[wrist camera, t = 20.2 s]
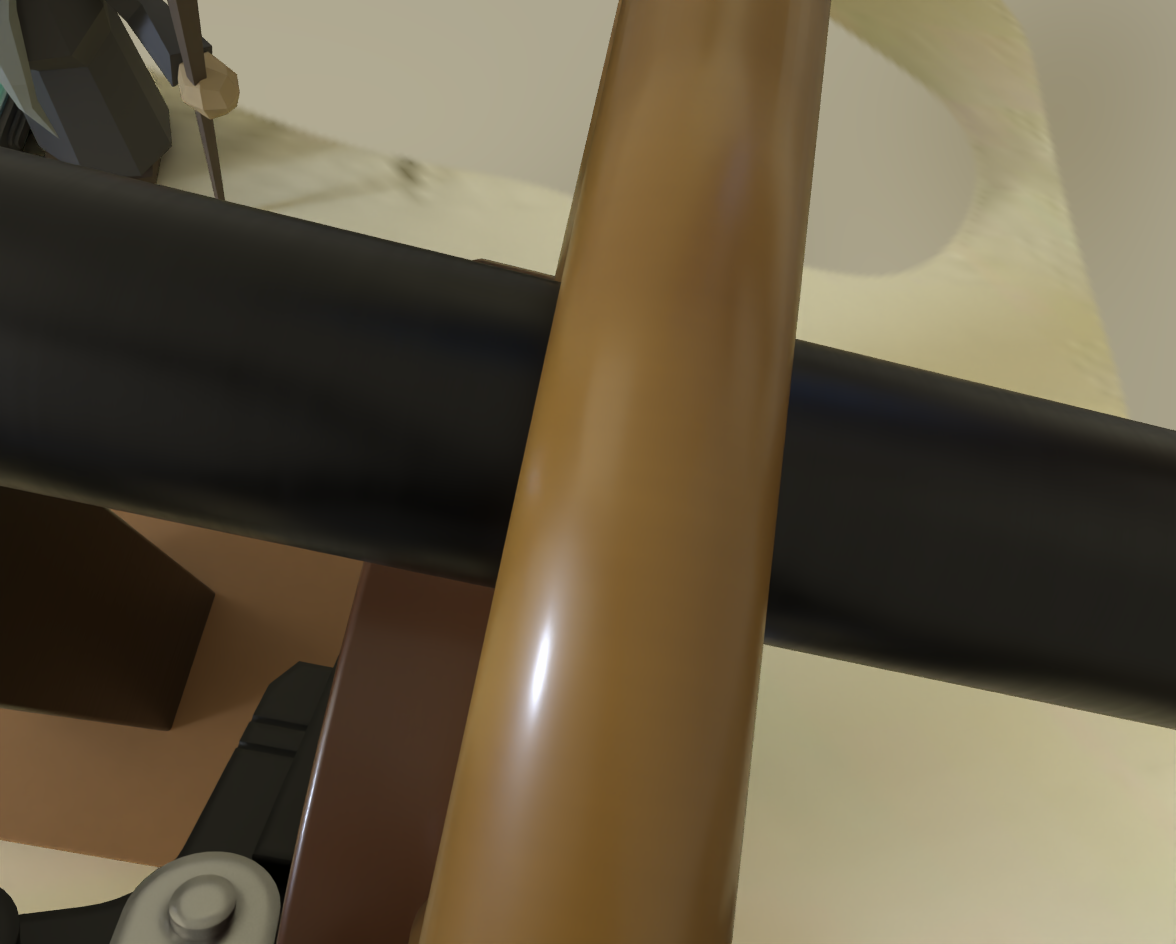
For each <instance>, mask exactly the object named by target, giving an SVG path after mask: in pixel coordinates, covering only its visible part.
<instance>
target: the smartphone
mask: <svg viewBox="0 0 1176 944" xmlns="http://www.w3.org/2000/svg"><path fill="white" fill-rule="evenodd" d="M29 131H30V126H29V124H28V122H27V119H26V117H25V115H24V113H23V111H22V110H20V109H19V108H18V107H17V105H16V104H15V102H14V101H13V100H12V98H11V97H10V95H9V94H8V93H7V91H6V90H5V88H4V87H3V86H2V84H1V83H0V146H1V147H5V148H9V149H13V150H17V151H21V152H22V149H23V147H24V144H25V141H26V139H27V136H28V133H29Z"/></svg>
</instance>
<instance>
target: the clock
mask: <svg viewBox="0 0 1176 944" xmlns="http://www.w3.org/2000/svg"><path fill="white" fill-rule="evenodd" d="M830 6H831V0H619V3H618V7H617V12H616V16H615V20H614V25H613V28H612V33H611V37H610V41H609V46H608V50H607V54H606V59H605V63H604V67H603V72H602V76H601V80H600V85H599V89H598V93H597V97H596V102H595V106H594V110H593V115H592V119H591V123H590V128H589V133H588V137H587V141H586V145H585V150H584V154H583V158H582V162H581V166H580V171H579V175H578V180H577V184H576V188H575V192H574V197H573V201H572V205H571V210H570V214H569V218H568V223H567V227H566V231H565V235H564V240H563V244H562V248H561V253H560V257H559V261H558V266H557V270H556V274H555V276H553V275H548V274H544V273H540V272H536V271H532V270H528V269H524V268H519V267H515V266H511V265H507V264H503V263H499V262H495V261H490V260H486V259H476V260H472V261H476V262H480V263H484V264H488V265H493V266H497V267H501V268H505V269H509V270H513V271H517V272H521V273H526V274H530V275H534V276H538V277H542V278H546V279H550V280H555V281H559V282H561V285H560V290H559V294H558V299H557V304H556V308H555V313H554V318H553V322H552V327H551V331H550V336H549V341H548V345H547V350H546V355H545V359H544V364H543V369H542V373H541V378H540V382H539V387H538V392H537V396H536V401H535V406H534V410H533V415H532V420H531V424H530V429H529V433H528V438H527V443H526V447H525V452H524V457H523V461H522V466H521V470H520V475H519V480H518V484H517V489H516V494H515V498H514V503H513V508H512V512H511V517H510V521H509V526H508V531H507V535H506V540H505V545H504V549H503V554H502V559H501V563H500V568H499V572H498V577H497V582H496V586H495V588H490V587H485V586H480V585H476V584H471V583H466V582H461V581H456V580H452V579H447V578H442V577H437V576H432V575H427V574H423V573H418V572H413V571H408V570H403V569H398V568H394V567H389V566H384V565H379V564H374V563H370V562H365V561H364V562H363V566H362V569H361V573H360V577H359V581H358V585H357V588H356V592H355V596H354V600H353V604H352V608H351V611H350V615H349V619H348V623H347V627H346V630H345V634H344V638H343V642H342V646H341V650H340V654H339V658H338V662H337V666H336V670H335V674H334V678H333V682H332V687H331V691H330V695H329V699H328V703H327V707H326V711H325V715H324V719H323V724H322V728H321V732H320V736H319V740H318V745H317V749H316V753H315V758H314V762H313V767H312V771H311V776H310V780H309V785H308V789H307V794H306V798H305V802H304V807H303V811H302V816H301V820H300V825H299V829H298V834H297V839H296V844H295V849H294V854H293V859H292V864H291V869H290V874H289V878H288V883H287V888H286V893H285V898H284V903H283V908H282V913H281V919H280V925H279V930H278V936H277V941H276V944H732V937H733V928H734V918H735V909H736V899H737V890H738V880H739V871H740V861H741V852H742V842H743V833H744V823H745V814H746V804H747V795H748V785H749V776H750V766H751V757H752V747H753V738H754V728H755V719H756V709H757V700H758V690H759V681H760V671H761V662H762V652H763V643H764V633H765V624H766V614H767V605H768V595H769V586H770V576H771V567H772V557H773V548H774V538H775V529H776V519H777V510H778V500H779V491H780V481H781V472H782V462H783V453H784V443H785V434H786V424H787V415H788V405H789V396H790V386H791V377H792V367H793V358H794V348H795V339H796V329H797V320H798V310H799V301H800V291H801V282H802V272H803V263H804V253H805V244H806V234H807V224H808V215H809V205H810V196H811V187H812V177H813V167H814V158H815V148H816V139H817V130H818V120H819V111H820V101H821V92H822V82H823V73H824V63H825V54H826V53H825V52H826V44H827V33H828V25H829V16H830Z"/></svg>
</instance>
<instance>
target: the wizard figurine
mask: <svg viewBox="0 0 1176 944" xmlns="http://www.w3.org/2000/svg"><path fill="white" fill-rule="evenodd" d="M167 1H168V5H169V6H168V5H167V4H166V3H165V2H164V1H163V0H0V83H1V84H2V86H3V87H4V88H5V90H6V91H7V93H8V94H9V95H10V97H11V98H12V100H13V101H14V102H15V104H16V105H17V107H18V108H19V109H20V110H22V111H23V113H24V115H25V117H26V119H27V122H28V124H29V126H30V128H31V130H32V132H33V135H34V137H35V139H36V141H37V143H38V146H39V147H41V148H42V149H44V150H45V151H46V154H45V157H46V158H50V159H54V160H59V161H63V162H67V163H71V164H75V165H79V166H83V167H88V168H92V169H96V170H100V171H104V172H108V173H112V174H116V175H121V176H125V177H129V178H133V179H137V180H141V181H145V182H150V183H154V184H156V181H157V175H158V170H159V165H160V160H161V159H160V157H161V156H162V155H163V154H164V153H165V152H166V151H167V150H168V149H169V148H170V147H171V146H172V142H171V130H170V119H169V109H168V107H167V105H166V103H165V101H164V99H163V98H162V96H161V94H160V92H159V90H158V88H157V86H156V84H155V83H154V81H153V79H152V77H151V75H150V73H149V71H148V69H147V68H146V66H145V64H144V62H143V60H142V58H141V56H140V55H139V53H138V51H137V49H136V47H135V45H134V43H133V41H132V40H131V38H130V36H129V34H128V32H127V30H126V28H125V27H124V25H123V23H122V21H121V19H120V17H119V16H118V14H119V15H120V16H121V17H122V18H123V19H124V20H125V21H127V23H128V24H129V26H130V27H131V29H132V30H133V31H134V33H135V34H136V36H137V37H138V38H139V40H140V41H141V43H142V44H143V45H144V47H145V48H146V50H147V51H148V53H149V54H150V55H151V57H152V58H153V60H154V61H155V63H156V64H157V65H158V67H159V68H160V70H161V71H162V73H163V74H164V75H165V77H166V78H167V80H168V81H169V82H170V84H171V85H172V87H174V86H176V85H178V84H179V89H180V94H181V99H182V101H183V102H184V103H186V104H187V105H189V106H190V107H192V108H193V109H195V114H196V118H197V122H198V126H199V131H200V135H201V139H202V144H203V148H204V152H205V156H206V161H207V165H208V169H209V174H210V178H211V182H212V186H213V191H214V195H215V198H216V199H220V200H224V201H225V197H224V191H223V184H222V177H221V171H220V164H219V157H218V150H217V144H216V137H215V130H214V124H213V119H214V118H217V117H220V116H223V115H226V114H228V113H229V112H230V111H232V110H233V109H234V108H235V107H237V103H238V98H239V93H240V92H239V85H238V79H237V74H236V73H235V72H233V71H232V70H231V69H230V68H228V67H227V66H226V65H225V64H223V63H222V62H221V61H219V60H218V59H217V58H216V57H214V56H213V55H212V46H211V45H210V44H209V43H208V42H207V41H206V40H205V39H204V38H203V37H202V35H201V27H200V19H199V11H198V3H197V0H167Z"/></svg>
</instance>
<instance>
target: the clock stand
mask: <svg viewBox="0 0 1176 944" xmlns="http://www.w3.org/2000/svg"><path fill="white" fill-rule="evenodd" d="M560 285H561V282H559V281H555V280H550V279H546V278H542V277H538V276H534V275H530V274H526V273H521V272H517V271H513V270H509V269H505V268H501V267H497V266H493V265H488V264H484V263H480V262H476V261H472V260H468V259H464V258H459V257H455V256H451V255H447V254H443V253H439V252H435V251H431V250H426V249H422V248H418V247H414V246H410V245H406V244H402V243H397V242H393V241H389V240H385V239H381V238H377V237H373V236H369V235H364V234H360V233H356V232H352V231H348V230H344V229H340V228H335V227H331V226H327V225H323V224H319V223H315V222H311V221H307V220H302V219H298V218H294V217H290V216H286V215H282V214H278V213H273V212H269V211H265V210H261V209H257V208H253V207H249V206H245V205H240V204H236V203H232V202H228V201H224V200H220V199H216V198H211V197H207V196H203V195H199V194H195V193H191V192H187V191H183V190H178V189H174V188H170V187H166V186H162V185H158V184H154V183H150V182H145V181H141V180H137V179H133V178H129V177H125V176H121V175H116V174H112V173H108V172H104V171H100V170H96V169H92V168H88V167H83V166H79V165H75V164H71V163H67V162H63V161H59V160H54V159H50V158H46V157H42V156H38V155H34V154H30V153H26V152H21V151H17V150H13V149H9V148H5V147H1V146H0V840H3V841H9V842H15V843H21V844H27V845H32V846H38V847H44V848H50V849H56V850H62V851H67V852H73V853H79V854H85V855H91V856H97V857H102V858H108V859H114V860H120V861H126V862H132V863H137V864H143V865H149V866H155V867H162V866H164V865H165V864H167V863H169V862H171V861H174V860H175V859H176V858H177V856H178V855H179V853H180V852H181V850H182V848H183V847H184V845H185V843H186V841H187V840H188V838H189V836H190V834H191V832H192V830H193V828H194V826H195V824H196V822H197V820H198V819H199V817H200V815H201V813H202V811H203V809H204V807H205V805H206V803H207V801H208V800H209V798H210V796H211V794H212V792H213V790H214V788H215V786H216V784H217V782H218V780H219V779H220V777H221V775H222V773H223V771H224V769H225V767H226V765H227V763H228V761H229V759H230V758H231V756H232V754H233V752H234V750H235V748H237V747H238V744H239V740H240V739H241V737H242V735H243V733H244V731H245V729H246V727H247V725H248V723H249V721H251V720H252V717H253V714H254V712H255V710H256V708H257V706H258V704H259V702H260V700H261V698H262V697H263V695H264V693H265V691H266V689H267V687H268V685H269V684H270V683H271V682H273V681H274V680H275V679H276V678H278V677H279V676H280V675H282V674H283V673H284V672H286V671H287V670H288V669H289V668H291V667H292V666H293V665H295V664H296V663H297V662H299V661H302V662H307V663H312V664H317V665H322V666H327V667H332V668H333V667H334V665H335V662H336V660H337V658H338V655H339V653H340V650H341V646H342V642H343V638H344V634H345V630H346V627H347V623H348V619H349V615H350V611H351V608H352V604H353V600H354V596H355V592H356V588H357V585H358V581H359V577H360V573H361V569H362V566H363V562H364V561H365V562H370V563H374V564H379V565H384V566H389V567H394V568H398V569H403V570H408V571H413V572H418V573H423V574H427V575H432V576H437V577H442V578H447V579H452V580H456V581H461V582H466V583H471V584H476V585H480V586H485V587H490V588H495V586H496V582H497V577H498V572H499V568H500V563H501V559H502V554H503V549H504V545H505V540H506V535H507V531H508V526H509V521H510V517H511V512H512V508H513V503H514V498H515V494H516V489H517V484H518V480H519V475H520V470H521V466H522V461H523V457H524V452H525V447H526V443H527V438H528V433H529V429H530V424H531V420H532V415H533V410H534V406H535V401H536V396H537V392H538V387H539V382H540V378H541V373H542V369H543V364H544V359H545V355H546V350H547V345H548V341H549V336H550V331H551V327H552V322H553V318H554V313H555V308H556V304H557V299H558V294H559V290H560ZM763 644H765V645H770V646H774V647H779V648H784V649H789V650H794V651H799V652H803V653H808V654H813V655H818V656H823V657H828V658H832V659H837V660H842V661H847V662H852V663H856V664H861V665H866V666H871V667H876V668H881V669H885V670H890V671H895V672H900V673H905V674H909V675H914V676H919V677H924V678H929V679H934V680H938V681H943V682H948V683H953V684H958V685H962V686H967V687H972V688H977V689H982V690H987V691H991V692H996V693H1001V694H1006V695H1011V696H1015V697H1020V698H1025V699H1030V700H1035V701H1040V702H1044V703H1049V704H1054V705H1059V706H1064V707H1069V708H1073V709H1078V710H1083V711H1088V712H1093V713H1097V714H1102V715H1107V716H1112V717H1117V718H1122V719H1126V720H1131V721H1136V722H1141V723H1146V724H1150V725H1155V726H1160V727H1165V728H1170V729H1175V730H1176V431H1174V430H1170V429H1166V428H1162V427H1158V426H1154V425H1149V424H1145V423H1141V422H1137V421H1133V420H1129V419H1125V418H1121V417H1117V416H1113V415H1108V414H1104V413H1100V412H1096V411H1092V410H1088V409H1084V408H1079V407H1075V406H1071V405H1067V404H1063V403H1059V402H1055V401H1051V400H1046V399H1042V398H1038V397H1034V396H1030V395H1026V394H1022V393H1017V392H1013V391H1009V390H1005V389H1001V388H997V387H993V386H989V385H984V384H980V383H976V382H972V381H968V380H964V379H960V378H955V377H951V376H947V375H943V374H939V373H935V372H931V371H927V370H922V369H918V368H914V367H910V366H906V365H902V364H898V363H893V362H889V361H885V360H881V359H877V358H873V357H869V356H865V355H860V354H856V353H852V352H848V351H844V350H840V349H836V348H831V347H827V346H823V345H819V344H815V343H811V342H807V341H803V340H798V339H795V348H794V358H793V367H792V377H791V386H790V396H789V405H788V415H787V424H786V434H785V443H784V453H783V462H782V472H781V481H780V491H779V500H778V510H777V519H776V529H775V538H774V548H773V557H772V567H771V576H770V586H769V595H768V605H767V614H766V624H765V633H764V643H763Z"/></svg>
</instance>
